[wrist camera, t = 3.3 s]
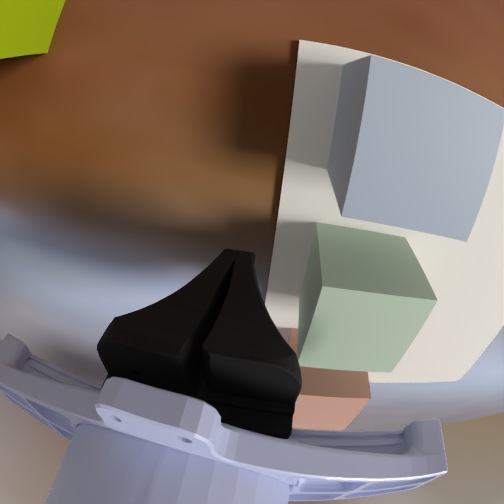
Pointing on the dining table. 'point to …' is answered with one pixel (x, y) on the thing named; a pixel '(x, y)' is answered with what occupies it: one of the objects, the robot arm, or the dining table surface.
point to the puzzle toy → (27, 26)
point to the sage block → (360, 300)
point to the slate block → (411, 148)
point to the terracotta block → (328, 395)
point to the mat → (423, 244)
